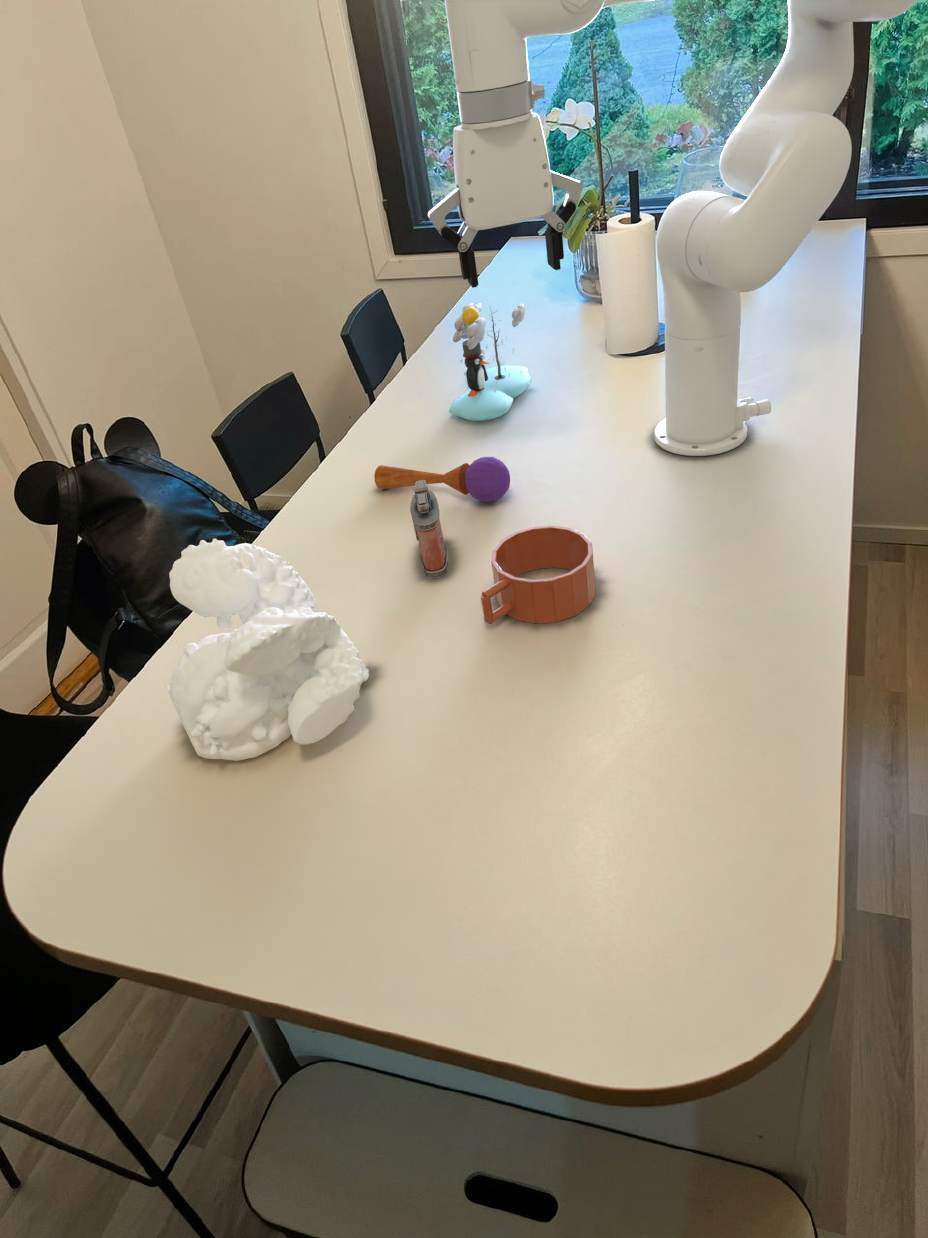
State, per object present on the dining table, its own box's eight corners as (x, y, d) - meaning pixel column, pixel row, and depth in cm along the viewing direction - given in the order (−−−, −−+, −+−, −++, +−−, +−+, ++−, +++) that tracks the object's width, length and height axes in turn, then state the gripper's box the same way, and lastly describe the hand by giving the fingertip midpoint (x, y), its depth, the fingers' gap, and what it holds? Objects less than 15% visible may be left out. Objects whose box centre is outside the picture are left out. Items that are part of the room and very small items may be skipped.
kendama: (388, 450, 125) (514, 451, 115) (395, 490, 127) (519, 494, 118) (365, 462, 120) (495, 464, 111) (373, 504, 123) (500, 509, 113)
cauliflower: (86, 663, 85) (216, 506, 84) (237, 731, 99) (348, 597, 99) (141, 782, 72) (294, 598, 71) (305, 840, 86) (434, 688, 86)
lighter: (420, 545, 111) (405, 475, 105) (446, 540, 110) (433, 470, 105) (422, 580, 104) (407, 507, 98) (450, 575, 104) (436, 502, 98)
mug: (546, 555, 104) (541, 515, 101) (615, 587, 97) (613, 546, 94) (455, 613, 98) (447, 572, 95) (522, 652, 91) (516, 610, 87)
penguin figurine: (500, 427, 134) (487, 330, 125) (438, 424, 139) (421, 330, 130) (543, 375, 148) (534, 284, 139) (486, 374, 153) (474, 286, 144)
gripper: (565, 87, 94) (576, 252, 104) (408, 117, 93) (435, 282, 103) (586, 93, 88) (596, 268, 98) (418, 126, 87) (446, 300, 97)
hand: (513, 275), depth 100 cm, fingers open, 9 cm apart
